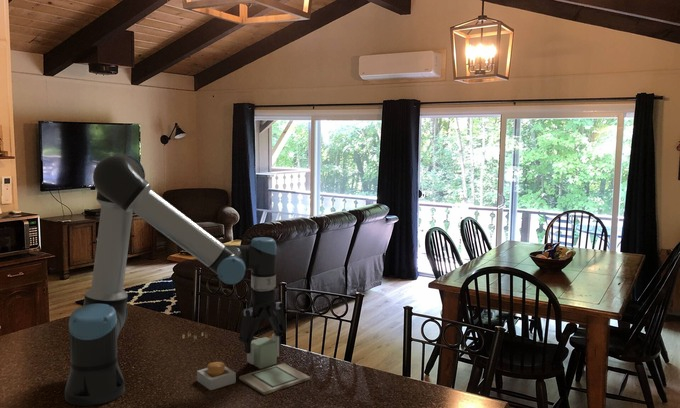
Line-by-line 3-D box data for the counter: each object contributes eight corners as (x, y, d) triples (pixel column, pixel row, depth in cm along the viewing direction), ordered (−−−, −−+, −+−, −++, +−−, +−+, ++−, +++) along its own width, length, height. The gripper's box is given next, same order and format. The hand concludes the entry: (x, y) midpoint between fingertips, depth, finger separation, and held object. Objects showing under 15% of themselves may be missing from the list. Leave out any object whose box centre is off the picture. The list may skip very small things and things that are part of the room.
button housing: (210, 390, 159) (210, 380, 159) (196, 380, 165) (196, 370, 165) (235, 382, 164) (235, 372, 164) (221, 373, 170) (221, 363, 170)
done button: (212, 380, 161) (212, 369, 161) (204, 374, 165) (204, 364, 164) (227, 375, 164) (227, 365, 164) (219, 370, 168) (219, 360, 168)
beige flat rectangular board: (264, 394, 157) (264, 391, 157) (239, 379, 167) (239, 376, 167) (309, 379, 168) (310, 376, 168) (283, 365, 177) (283, 362, 177)
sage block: (260, 368, 175) (260, 346, 174) (249, 362, 179) (249, 341, 178) (276, 364, 179) (276, 342, 178) (265, 358, 183) (265, 337, 182)
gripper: (239, 296, 166) (239, 371, 169) (298, 285, 180) (298, 354, 183) (226, 291, 172) (226, 363, 174) (284, 280, 186) (284, 347, 188)
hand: (263, 358), depth 179 cm, fingers open, 9 cm apart
